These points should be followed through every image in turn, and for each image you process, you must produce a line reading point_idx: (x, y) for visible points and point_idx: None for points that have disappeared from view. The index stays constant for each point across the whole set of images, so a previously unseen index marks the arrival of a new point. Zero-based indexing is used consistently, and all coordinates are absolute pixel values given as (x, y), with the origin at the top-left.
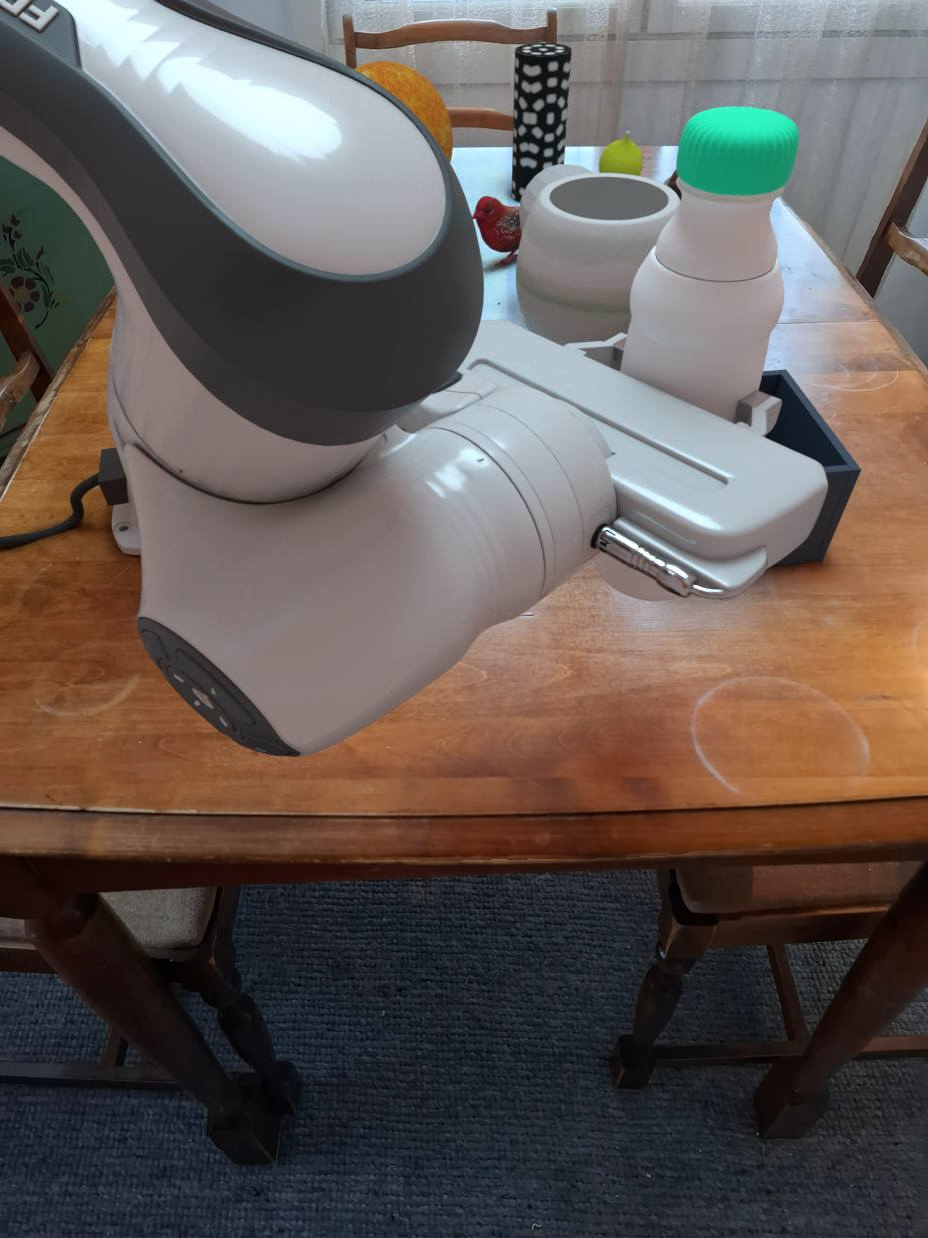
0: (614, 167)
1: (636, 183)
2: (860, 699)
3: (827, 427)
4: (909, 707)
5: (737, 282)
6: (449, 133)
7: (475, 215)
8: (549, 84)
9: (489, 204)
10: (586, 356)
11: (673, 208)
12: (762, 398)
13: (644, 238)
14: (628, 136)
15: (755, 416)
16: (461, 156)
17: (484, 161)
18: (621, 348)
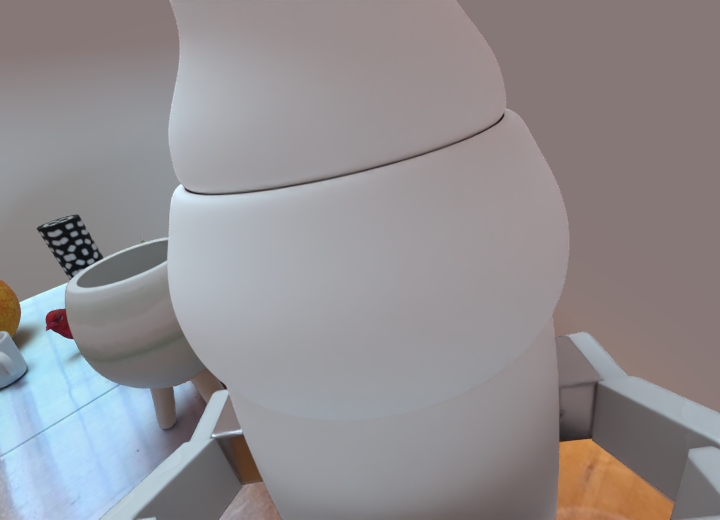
0: None
1: (152, 245)
2: (585, 485)
3: None
4: (608, 460)
5: (503, 124)
6: (7, 290)
7: (48, 327)
8: (72, 235)
9: (57, 315)
10: (165, 511)
11: None
12: (572, 351)
13: None
14: (143, 241)
15: (657, 405)
16: (38, 299)
17: (56, 294)
18: (236, 432)
